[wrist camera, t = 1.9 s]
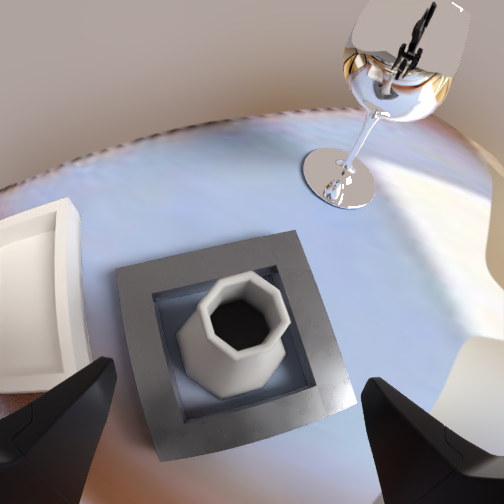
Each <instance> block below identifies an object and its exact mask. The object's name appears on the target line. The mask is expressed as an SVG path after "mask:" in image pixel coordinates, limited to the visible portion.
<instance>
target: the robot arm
mask: <svg viewBox="0 0 504 504" xmlns="http://www.w3.org/2000/svg"><path fill="white" fill-rule="evenodd" d="M116 380H117V374H116V370H115V365H114V361H113V359H112V358H109V357H104V356H101V357H99V358H98V359H96V360H95V361H93V362H92V363H90V364H89V365H87V366H86V367H84V368H83V369H81V370H79V371H78V372H76V373H75V374H73V375H72V376H70V377H69V378H67V379H66V380H64V381H63V382H61V383H59V384H58V385H56V386H55V387H53V388H52V389H50V390H49V391H47V392H46V393H44V394H42V395H41V396H39V397H38V398H36V399H35V400H33V401H32V402H30V403H28V404H27V405H25V406H24V407H22V408H20V409H19V410H17V411H15V412H14V413H12V414H10V415H8V416H6V417H4V418H2V419H0V504H79V503H80V499H81V495H82V492H83V489H84V485H85V482H86V479H87V476H88V472H89V469H90V466H91V463H92V460H93V457H94V454H95V451H96V448H97V445H98V442H99V439H100V436H101V434H102V431H103V428H104V425H105V423H106V420H107V417H108V413H109V409H110V405H111V401H112V397H113V392H114V389H115V385H116ZM361 402H362V408H363V414H364V420H365V426H366V432H367V436H368V440H369V443H370V447H371V451H372V454H373V458H374V462H375V466H376V470H377V474H378V478H379V482H380V486H381V490H382V495H383V499H384V503H385V504H504V456H496V455H492V454H490V453H488V452H486V451H484V450H483V449H481V448H479V447H477V446H475V445H474V444H472V443H470V442H469V441H467V440H465V439H464V438H462V437H461V436H459V435H457V434H456V433H455V432H453V431H452V430H450V429H449V428H448V427H446V426H444V425H443V424H442V423H441V422H439V421H438V420H437V419H435V418H434V417H433V416H431V415H430V414H428V413H427V412H426V411H424V410H423V409H422V408H420V407H419V406H418V405H416V404H415V403H414V402H412V401H411V400H410V399H408V398H407V397H406V396H404V395H403V394H402V393H400V392H399V391H398V390H396V389H395V388H394V387H392V386H391V385H390V384H388V383H387V382H386V381H384V380H383V379H382V378H380V377H372V378H369V379H368V381H367V383H366V385H365V387H364V389H363V391H362V393H361Z"/></svg>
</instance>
